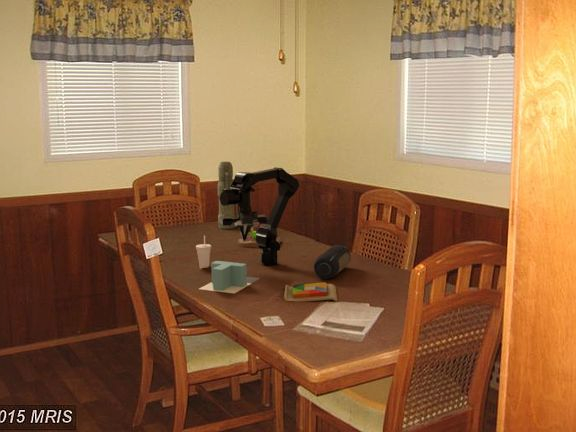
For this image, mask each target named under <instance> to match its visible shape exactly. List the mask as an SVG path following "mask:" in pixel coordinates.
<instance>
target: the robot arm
mask: <svg viewBox="0 0 576 432" xmlns="http://www.w3.org/2000/svg"><path fill="white" fill-rule="evenodd" d="M273 179H274V180H275V182H276V183H277V184H278V186H277V190H278V191H277V192H278V196H277V198H276V199H275V202H274V204H273V207H272V208H271V209H272V210H271V212H270V213H269V217H267V216H266V215H265V214H259V212H258V211H257V210H256V211H252V198H251V196H252V192H253V193H254V192H256V189H254V187H253V186H255V185H256V184H257V183H259V182H263V181H264V182H265V181H268V180H273ZM299 187H300V182H299V179H298V178H296V177H294V176H292V174H290V173H289V172H287V171H286V170H285V169H284V168H282V167H276V166H275V167H273V168H269V169H264V170H259V171H254V172H247V171H245V172H243V171H239V172H236V173H235V175H234V177H233V181H232V183H231V185H230V187H229V189H223V192H222V193H221V194H220V203H221V204H222V205H223V206H228V205H234V206H235V205H236V217H235V218H231V217H230V216H227V217H221V219H220V223H221V224H222V225H223V226H228V225H231V224H232V223H234V225H235V228H236V227H237V229H238V231H239V233H240V235H241V239H243V241H246V238H247V236H249V235H248V234H249V233H250V232H249V231H251V229H252V228H253V227H254V226H255V224H254V223H258V224H259V223H260V225H264V224H265V225H264V226H260V227H259V229H258V232H257V234H256V243H257V244H258V247H259V248H258V249H259V250H261V251H260V253H259V254H260V255H259V257H260V259H259V262H260V263H261V265H263V266H274V265H275V266H276V265H279V262H278V251H280V250H281V247H282V244H281V243H278V242H277V241H276V239H277V237H278V231H277V230H278V227H279V224H280V222H281V221H282V220H281V219H282V217H283V215H284V213H285V210H286V208H287V206H288V203H289V201H290V199H291V198H292V197H293V196H295V195H296V193H297V191H298V190H299Z"/></svg>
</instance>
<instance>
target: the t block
mask: <svg viewBox="0 0 576 432" xmlns="http://www.w3.org/2000/svg"><path fill="white" fill-rule="evenodd" d="M210 265H211V268H210V269H211V270H210V271H211V282H212V284H213V290H221V291H223V290H225V289H227V288H229V287H230V286H237V287H243V286H245V285H247V277H248V267H247V266H248V265H247V263H242V262H232V261H224V260H223V261H222V260H221V261H220V260H215V261H212V262H210Z"/></svg>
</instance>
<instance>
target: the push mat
mask: <svg viewBox="0 0 576 432" xmlns="http://www.w3.org/2000/svg"><path fill="white" fill-rule="evenodd" d="M260 279H261V278H260V277H252V276H247V285H245V286H243V287H237V286H230V287H229V288H227V289H225V290H223V291H221V290H213V284H212V281H211V282H209V283H207V284H205V285H204V286H201V287H200V288H198V290H202V291H211V292H220V293H229V294H236V293H238V292H240V291H241V290H243V289H245V288H246V287H248V286H250V285H252V284H254V283H255V282H257V281H259V280H260Z"/></svg>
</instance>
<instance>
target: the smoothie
mask: <svg viewBox="0 0 576 432" xmlns="http://www.w3.org/2000/svg"><path fill="white" fill-rule="evenodd" d="M195 249H196V253H197V260H198V266H199V270H201V269H205V268H209V267H210V257H211V249H212V245H211V244H207V243H206V235H203V243H201V244H197V245H195Z"/></svg>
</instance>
